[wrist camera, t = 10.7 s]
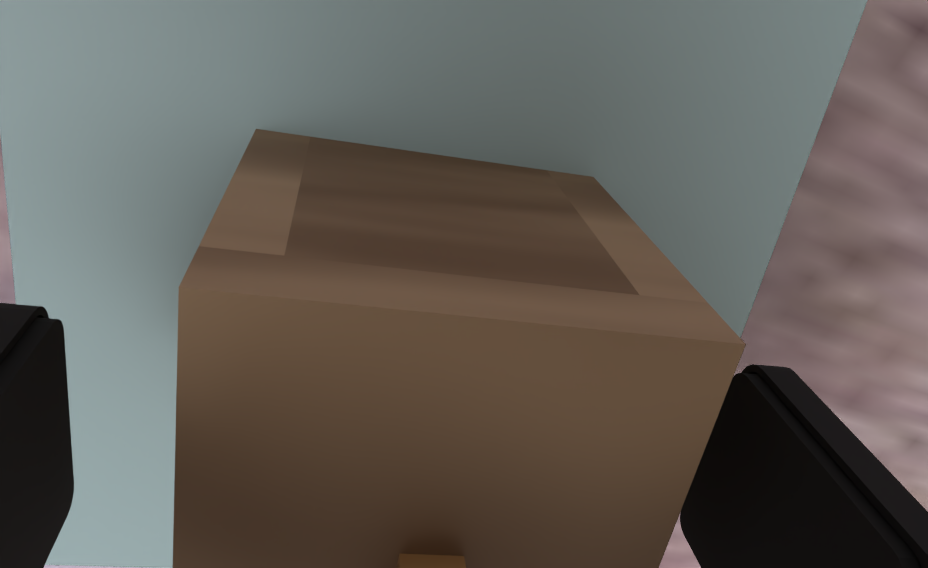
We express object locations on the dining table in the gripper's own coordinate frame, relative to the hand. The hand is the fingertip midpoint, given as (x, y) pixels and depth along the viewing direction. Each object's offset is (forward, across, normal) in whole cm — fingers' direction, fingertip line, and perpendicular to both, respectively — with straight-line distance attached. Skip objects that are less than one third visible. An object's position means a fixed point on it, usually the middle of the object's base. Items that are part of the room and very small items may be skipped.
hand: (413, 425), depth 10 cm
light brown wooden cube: (+4, 0, 0) cm, 4 cm away
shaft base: (+6, 0, 0) cm, 6 cm away
